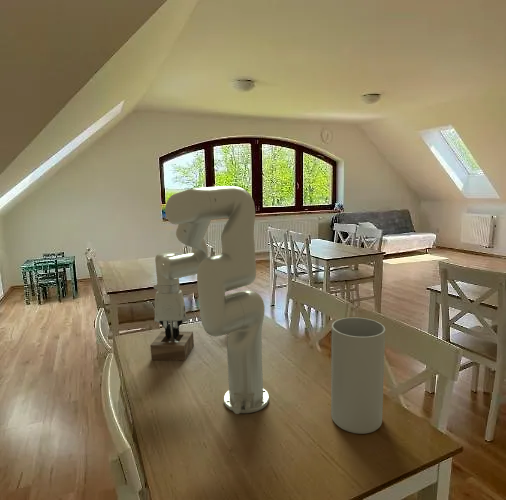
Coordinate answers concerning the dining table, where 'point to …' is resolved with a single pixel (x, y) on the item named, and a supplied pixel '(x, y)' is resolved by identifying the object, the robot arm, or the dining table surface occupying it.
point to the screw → (172, 331)
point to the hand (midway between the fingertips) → (172, 337)
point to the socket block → (172, 347)
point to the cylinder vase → (357, 374)
